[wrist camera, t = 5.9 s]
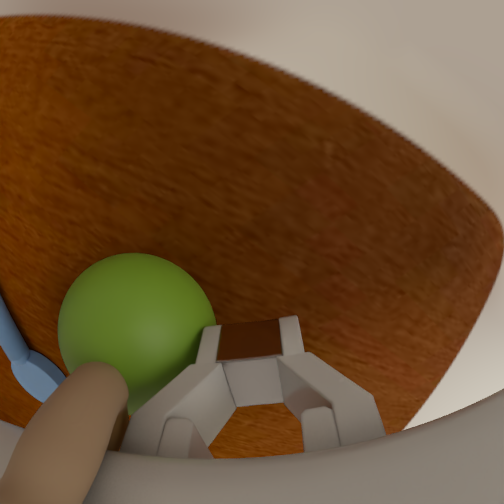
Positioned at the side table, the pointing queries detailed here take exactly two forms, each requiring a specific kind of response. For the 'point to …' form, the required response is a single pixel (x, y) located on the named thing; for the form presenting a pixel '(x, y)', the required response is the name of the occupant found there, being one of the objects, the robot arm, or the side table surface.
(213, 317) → the snail figurine
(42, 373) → the blue spoon
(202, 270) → the side table surface
